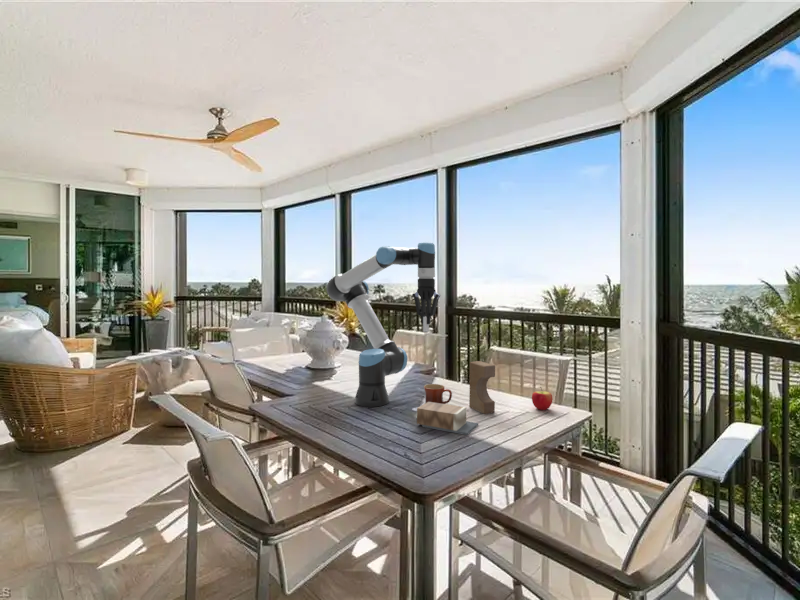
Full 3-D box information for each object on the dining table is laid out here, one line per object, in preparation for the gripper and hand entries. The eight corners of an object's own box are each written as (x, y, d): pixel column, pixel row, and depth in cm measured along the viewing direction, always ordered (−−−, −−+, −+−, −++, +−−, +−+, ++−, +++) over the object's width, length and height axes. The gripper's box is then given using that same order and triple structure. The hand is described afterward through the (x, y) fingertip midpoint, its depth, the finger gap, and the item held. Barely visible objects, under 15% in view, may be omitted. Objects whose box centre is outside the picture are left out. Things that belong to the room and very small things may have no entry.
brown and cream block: (416, 408, 169) (456, 414, 161) (428, 401, 177) (466, 407, 170) (416, 423, 169) (456, 430, 161) (428, 416, 178) (466, 422, 170)
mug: (421, 412, 186) (421, 388, 185) (426, 406, 194) (426, 383, 193) (449, 415, 182) (449, 390, 181) (453, 409, 190) (454, 385, 189)
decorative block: (495, 412, 185) (495, 365, 184) (483, 414, 183) (484, 366, 181) (479, 405, 195) (480, 360, 194) (468, 407, 193) (469, 361, 191)
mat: (422, 426, 168) (422, 424, 168) (435, 417, 178) (435, 415, 178) (467, 435, 159) (467, 432, 159) (478, 425, 170) (478, 423, 170)
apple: (528, 409, 190) (528, 386, 189) (537, 405, 196) (537, 382, 196) (546, 413, 184) (547, 389, 184) (555, 408, 191) (555, 385, 190)
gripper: (409, 278, 195) (409, 331, 196) (436, 278, 189) (435, 333, 190) (416, 277, 202) (416, 329, 203) (443, 278, 195) (442, 331, 197)
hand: (426, 331), depth 196 cm, fingers closed
